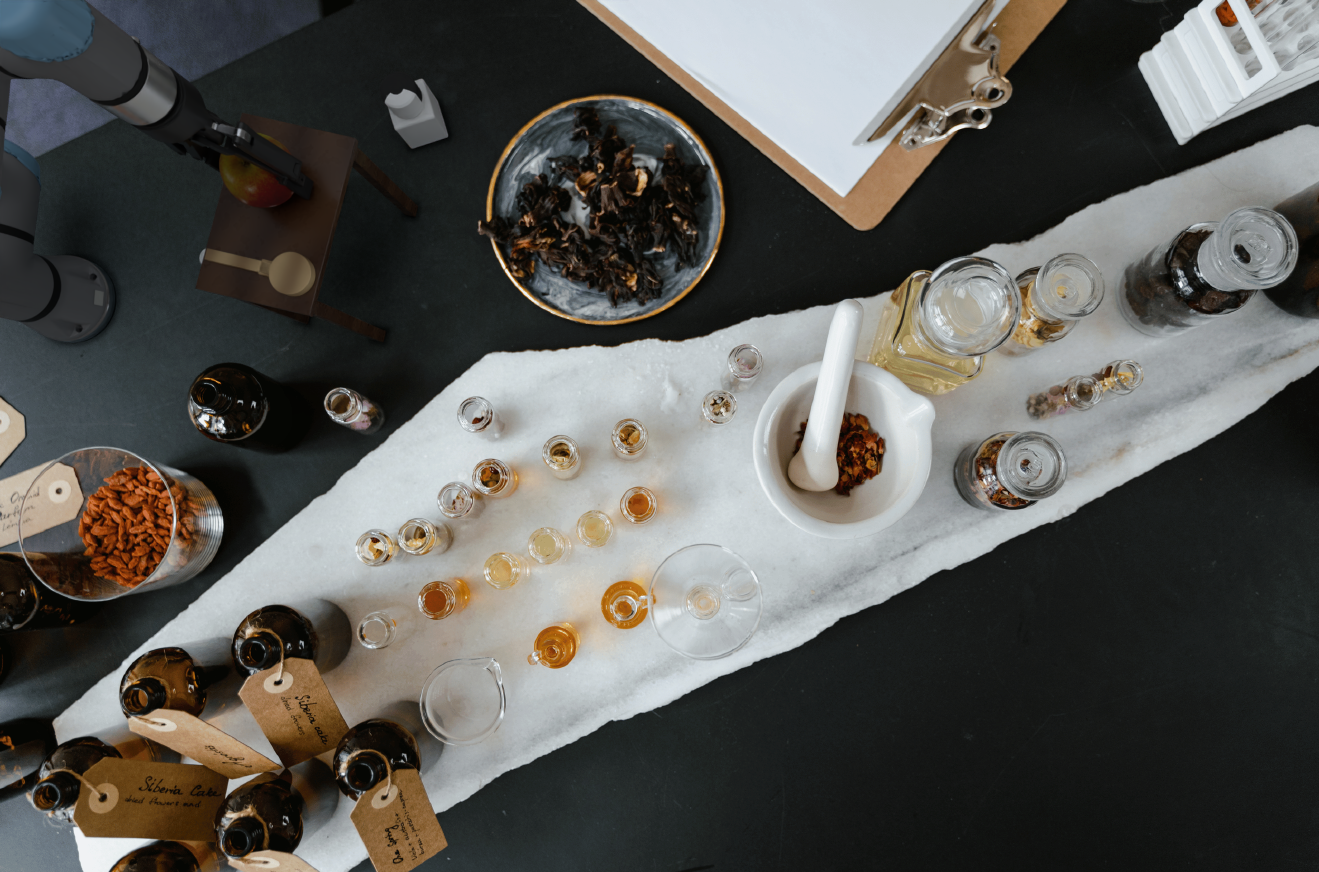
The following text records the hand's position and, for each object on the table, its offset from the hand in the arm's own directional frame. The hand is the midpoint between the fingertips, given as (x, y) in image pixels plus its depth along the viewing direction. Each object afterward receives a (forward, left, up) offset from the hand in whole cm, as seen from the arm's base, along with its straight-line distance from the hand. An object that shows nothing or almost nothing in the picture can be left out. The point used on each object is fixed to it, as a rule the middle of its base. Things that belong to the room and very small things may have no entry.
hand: (275, 182), depth 93 cm
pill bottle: (-20, -10, -25) cm, 34 cm away
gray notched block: (+6, +23, -25) cm, 34 cm away
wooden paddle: (0, -12, -1) cm, 12 cm away
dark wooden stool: (+1, -4, -25) cm, 25 cm away
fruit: (0, 0, 0) cm, 0 cm away
